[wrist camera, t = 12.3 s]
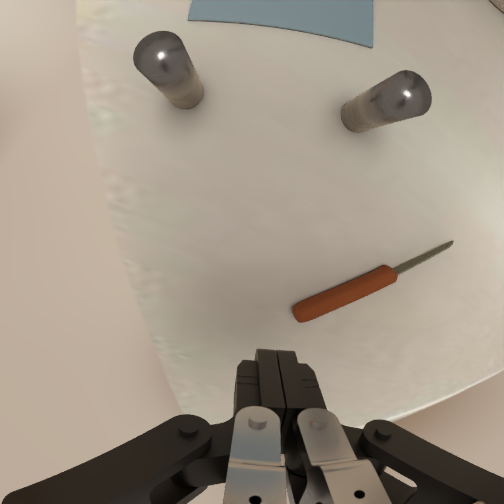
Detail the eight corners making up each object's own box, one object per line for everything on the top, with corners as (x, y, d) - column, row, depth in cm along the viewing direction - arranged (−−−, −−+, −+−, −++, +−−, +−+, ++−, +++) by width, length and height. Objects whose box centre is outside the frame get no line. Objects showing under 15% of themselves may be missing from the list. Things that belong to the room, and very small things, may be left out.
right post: (372, 104, 22) (432, 78, 14) (370, 135, 23) (430, 121, 14) (342, 97, 22) (391, 64, 13) (339, 128, 23) (389, 108, 14)
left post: (206, 78, 22) (187, 30, 13) (201, 110, 22) (179, 76, 13) (172, 76, 21) (138, 31, 13) (167, 108, 22) (129, 76, 13)
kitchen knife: (295, 317, 27) (298, 327, 25) (289, 303, 26) (293, 313, 24) (449, 245, 26) (461, 250, 24) (446, 231, 25) (458, 236, 23)
